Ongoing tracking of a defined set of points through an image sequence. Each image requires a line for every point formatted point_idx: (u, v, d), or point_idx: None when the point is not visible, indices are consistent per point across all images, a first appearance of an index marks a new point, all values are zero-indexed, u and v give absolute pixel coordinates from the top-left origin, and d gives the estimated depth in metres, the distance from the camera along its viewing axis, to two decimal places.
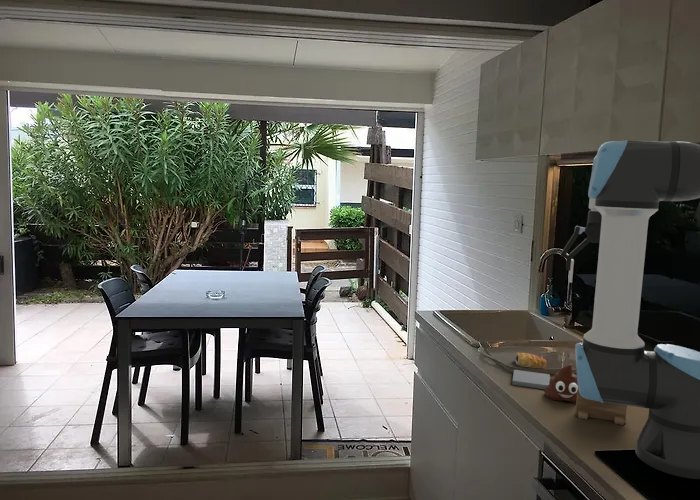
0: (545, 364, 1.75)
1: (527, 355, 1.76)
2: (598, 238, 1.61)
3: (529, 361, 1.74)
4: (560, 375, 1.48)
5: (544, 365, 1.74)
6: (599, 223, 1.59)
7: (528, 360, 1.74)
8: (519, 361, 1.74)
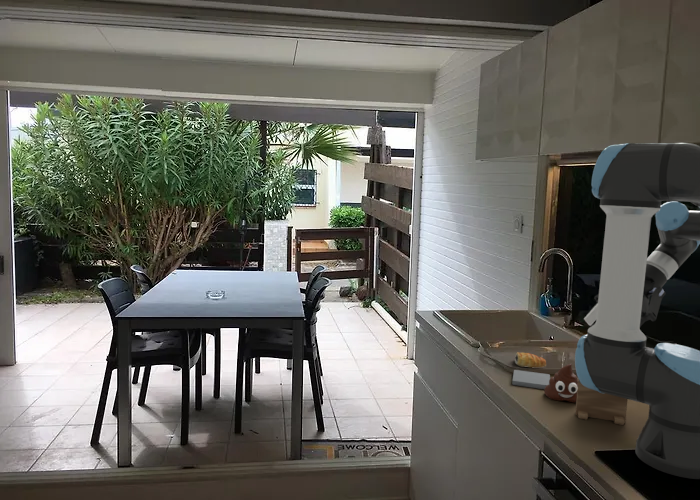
0: (545, 364, 1.75)
1: (527, 355, 1.76)
2: None
3: (529, 361, 1.74)
4: (560, 375, 1.48)
5: (544, 365, 1.75)
6: None
7: (528, 359, 1.74)
8: (519, 361, 1.75)
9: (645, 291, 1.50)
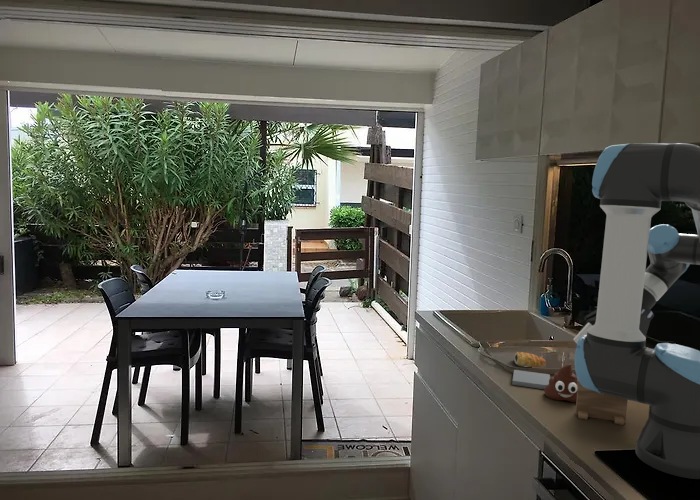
0: (544, 363, 1.75)
1: (526, 355, 1.76)
2: None
3: (528, 361, 1.74)
4: (560, 375, 1.48)
5: (543, 364, 1.75)
6: None
7: (528, 359, 1.75)
8: (518, 361, 1.75)
9: None
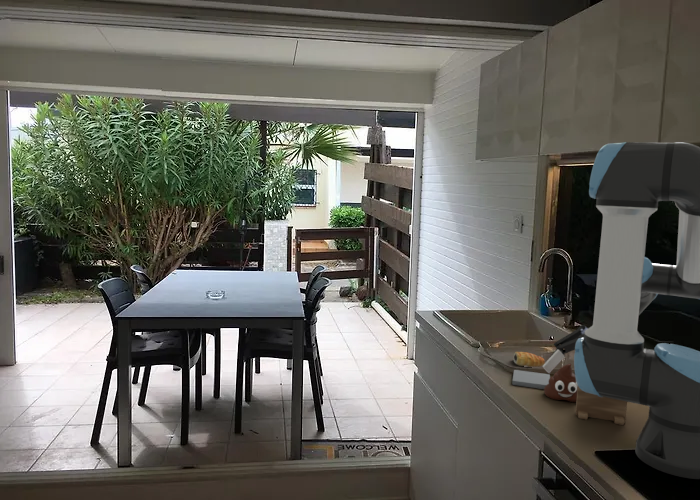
0: (543, 363, 1.76)
1: (525, 354, 1.77)
2: None
3: (528, 360, 1.75)
4: (559, 374, 1.49)
5: (542, 364, 1.76)
6: None
7: (527, 359, 1.75)
8: (518, 360, 1.75)
9: None
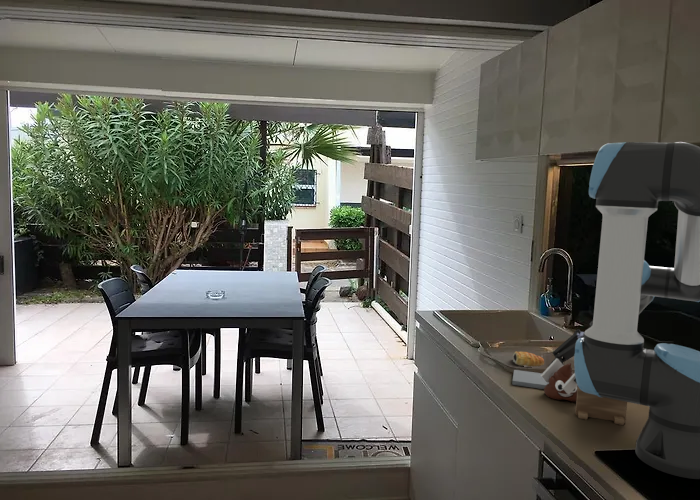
0: (543, 362, 1.76)
1: (525, 354, 1.77)
2: None
3: (527, 360, 1.75)
4: (559, 374, 1.49)
5: (542, 363, 1.76)
6: (593, 323, 1.51)
7: (527, 358, 1.75)
8: (518, 360, 1.75)
9: None
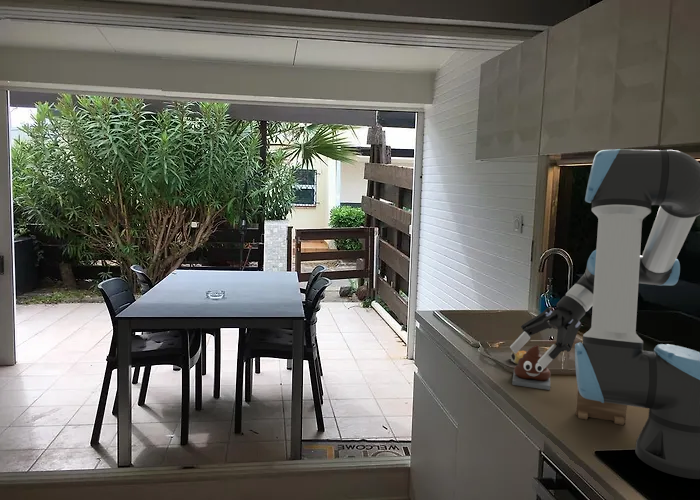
0: None
1: (523, 353, 1.78)
2: (553, 320, 1.62)
3: None
4: (528, 355, 1.60)
5: None
6: (558, 303, 1.62)
7: None
8: (516, 359, 1.76)
9: (564, 322, 1.58)
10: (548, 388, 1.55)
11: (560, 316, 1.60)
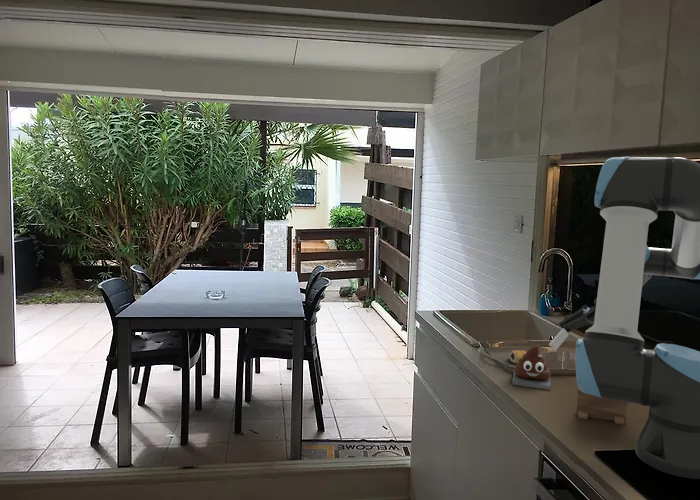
0: None
1: (522, 352, 1.78)
2: (592, 317, 1.65)
3: None
4: (528, 355, 1.60)
5: None
6: (596, 300, 1.65)
7: None
8: (516, 359, 1.77)
9: None
10: (548, 388, 1.55)
11: None
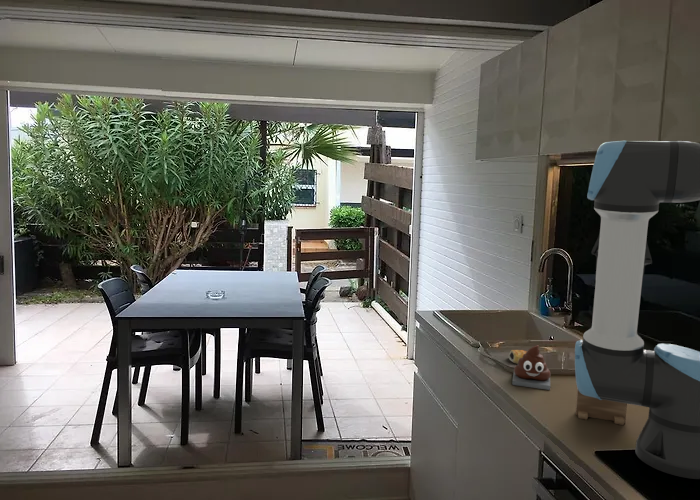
0: None
1: (522, 352, 1.79)
2: None
3: None
4: (528, 355, 1.60)
5: None
6: None
7: None
8: (515, 358, 1.77)
9: None
10: (548, 388, 1.55)
11: None
